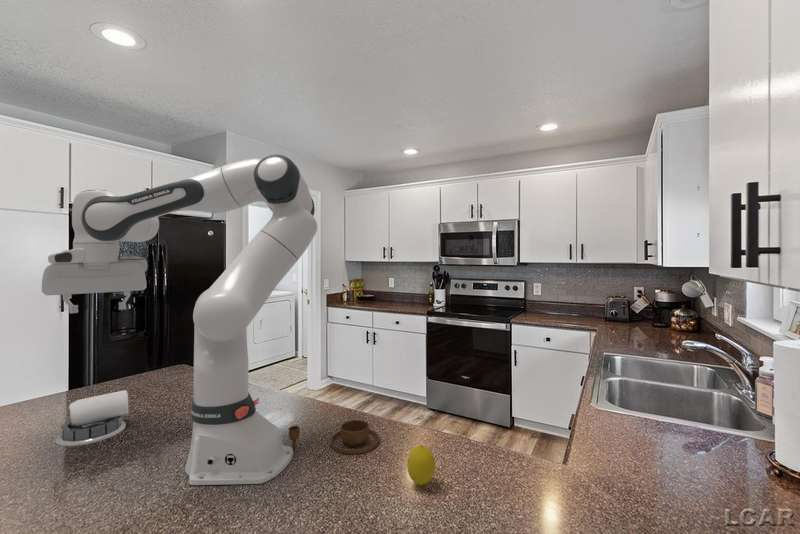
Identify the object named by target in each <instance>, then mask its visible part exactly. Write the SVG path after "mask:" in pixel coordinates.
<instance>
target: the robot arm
mask: <svg viewBox="0 0 800 534" xmlns="http://www.w3.org/2000/svg"><path fill="white" fill-rule="evenodd" d="M256 202H263V203H265V204H266V206H267V207H268V208H269V210H270V211H271V213H272V216H271V217H270V219H269V221H268V222H266V224H265V225H264V226H263V227H262V228H261V229H259V230H260V231H258V233H256V235H255V236H253V238H252V239H251V240H250V242H248V243H247V245H246V246H245V247H244V248H243V249H242V250H241V251H240V252H239V253H238V254H237V255H236V257H235V258H234V259H233V260H232V262H231V263H230V264H229V265H228V266H227V268H225V270H224V271H223V272H222V273H221V274H220V275H219V277H218V278H217V279H216V280H214V282H213V283H212V284H211V285H210V287H209V288H207V289H206V290H204V291H203V292H202V293H201V294H200V295H199V296H198V298H197V300H196V301H195V305H194V308H193V313H192V320H193V324H194V325H193V327H194V331H193V332H194V335H193V338H194V339H193V341H194V343H193V400H192V402H191V407H190V409H191V410H190V412H191V413H190V415H191V416H190V417H191V418H190V419H191V420H192V431H191V432H192V434H191V441H190V448H189V452H188V453H189V454H188V457H187V460H186V464H185V467H184V471H185V473H186V474H187V475H188V484H189V485H191V486H210V485H211V486H213V485H215V486H217V485H221V486H222V485H259V484H264V483H266V482H269V481H270V480H272V479H274V478H276V477H277V476H278V475H279V474H281V472H283V471H284V470H285V468H287V466H289V464H290V462H291V461H292V460H293V457H294V452H293V448H292V446H289V445H285V444H284V443H283V436H282V433H281V429H279V427H278V426H277V425H276V424H274V423H273V422H271V421H270V420H268V419H267V418H266V417H264V416H263V415H262V414H261V413H259V412H258V411H257V408H256V405H258V404H259V403H260V401H259V400H260V398H259V397H258V398H256V399H254V400H253V398H252V395H251V394H250V392H249V352H248V351H249V350H248V336H247V331H248V330H247V327H248V326H249V325H250V323H251V322H253V320H254V319H255V317H256V316H257V314H258V313H259V312H260V310H261V309H262V308H263V307H264V305H265V304H266V302H267V300H268V299H269V298H270V297H271V295H272V293H273V291H274V290H275V289H276V288H277V286H278V285H279V284H280V282H281V281H282V280H283V278H285V276H286V275H287V274H288V273H289V271H290V270H291V269H292V268H293V266H295V264H297V262H298V260H300V259H301V257H302V256H303V254H304V253H305V252H306V250H307V249H308V247H309V246H310V245H311V242H312V241H313V239H314V238H315V236H316V233H317V231H318V223H317V220H316V218H315V211H316V209H315V202H314V200H313V198H312V196H311V193H310V189H309V187H308V184H307V182H306V180H305V179H304V177H303V175H302V174H301V172H300V170H299V168H298V166H297V165H296V164H295V163H294V161H292V159H291V158H289V157H287V156H286V155H283V154H270V155H268V156H265V157H263V158H262V159H261V158H258V157H257V158H249V159H248V158H247V159H243V160H238V161H234V162H231V163H228V164H224V165H222V166H218V167H216V168H213V169H211V170H210V169H209V170H207V171H205V172H202V173H200V174H197V175H194V176H191V177H188V178H184V179H181V180H179V181H178V180H177V181H173V182H170V183H167V184H162V185H160V186H159V185H158V186H155V187H152V188H150V189H149V188H148V189H146V190H142V191H138V192H135V193H131V194H128V195H122V196H117V195H115V194H114V193H113V192H111V191H108V190H105V189H87V190H83V191H80V192H78V193H77V194H76V195H75V196H74V198H73V202H72V208H71V226H72V228H73V232H74V238H73V241H72V249H69V250H63V251H61V252H60V251H59V252H55V253H52V254H49V255H48V256H47V260H48V263H49V265H48V266H46V267H45V268H44V270H43V274H42V279H41V293H43V294H44V295H45V296H61V295H62V300H63V301H64V303H65V304H66V305H67V306H68V309H69V314H77V313H79V309H78V308H79V304H73V303H72V302H71V300H70V299H72V295H80V294H81V295H82V294H98V293H99V294H100V293H113V292H114V293H118V292H120V293H121V292H123V296H125V297H124V299H123V300H122V301H119V302H118V310H126V309H127V305H126V304H127V302H128V300H129V298H130V297H131V292H135V291H139V292H140V291H144V290H145V289H147V288H148V287H147V279H146V278H147V277H146V273H145V272H147V270H148V260H147V259H146V258H145V257H142V256H140V255H119V254H120V252H119V250H120V249H119V242H127V243H129V242H131V243H143V242H148V241H151V240H152V239H153V238H155V236H156V235H157V234H158V232H159V230H160V226H161V225H160V220H159V219H160V218H159V217H161V216H164V215H165V216H166V215H168V214H171V213H172V214H173V213H175V212H182V211H183V212H184V211H189V212H191V211H192V212H202V213H203V212H204V213H209V214H210V213H211V214H220V213H226V212H230V211H234V210H237V209H240V208H243V207H245V206H248V205H250V204H253V203H256Z"/></svg>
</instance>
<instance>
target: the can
mask: <svg viewBox="0 0 800 534" xmlns="http://www.w3.org/2000/svg"><path fill="white" fill-rule="evenodd" d="M68 413H69V414H68V415H69V416H68V417H69V421H70V426H72V425H76V426H80V425H84V424H89V423H93V422H97V421H101V420H105V419H109V418H114V417H117V416H125V415H128V414H129V413H130V398H129V391H128V390H126V389H125V390H119V391H116V392H115V391H114V392H108V393H106V394H105V393H104V394H101V395H96V396H91V397H86V398H81V399H76V400H75V401H73V402H71V403H69V405H68Z"/></svg>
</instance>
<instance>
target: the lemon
mask: <svg viewBox="0 0 800 534" xmlns="http://www.w3.org/2000/svg"><path fill="white" fill-rule="evenodd" d="M406 464H407V465H406V466H407V473H408V476H409V479H411V480H412V481H413V483H415V484H418V485H419V486H423V485H426V484H428V483H430V481H431V480H432V479H433V477H434V475H435V472H436V461H435V456H434V453H433V452H432V450H431V449H429V447H427V446H425V445H423V444H419V445H417V446H414V447H413V448H412V449H411V450H410V452H409V454H408V457H407V462H406Z"/></svg>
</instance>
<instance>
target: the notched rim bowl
mask: <svg viewBox="0 0 800 534" xmlns="http://www.w3.org/2000/svg"><path fill="white" fill-rule="evenodd" d="M122 416H123V415H122ZM122 416H117V417H114V418H109V419H105V420H101V421H97V422H93V423H89V424H84V425H80V426H76V425H72V426H70V420H67V421H66V422H65V423H63V425H61V426H60V433H59V434H58V435H57V436H56V437H55V444H56V445H58V446H61V447H78V446H85V445H89V444H90V445H91V444H93V443H94V444H95V443H98V442H101V441H104V440H107V439H110V438H112V437H114V436H116V435H118V434H120V433H122V432H123V431H124V430H125V429H126V426H127V424H126V422H125V421H124V420H123V419H122V418H123V417H122Z"/></svg>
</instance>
